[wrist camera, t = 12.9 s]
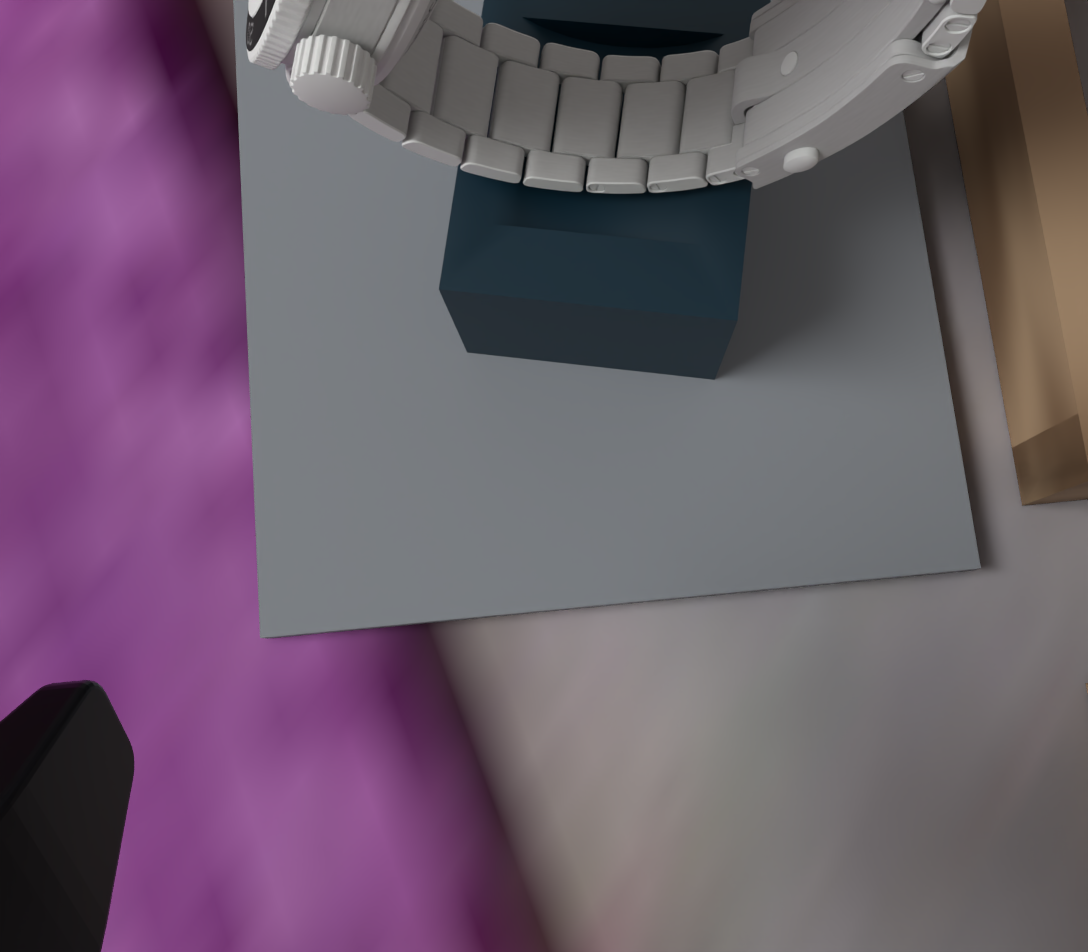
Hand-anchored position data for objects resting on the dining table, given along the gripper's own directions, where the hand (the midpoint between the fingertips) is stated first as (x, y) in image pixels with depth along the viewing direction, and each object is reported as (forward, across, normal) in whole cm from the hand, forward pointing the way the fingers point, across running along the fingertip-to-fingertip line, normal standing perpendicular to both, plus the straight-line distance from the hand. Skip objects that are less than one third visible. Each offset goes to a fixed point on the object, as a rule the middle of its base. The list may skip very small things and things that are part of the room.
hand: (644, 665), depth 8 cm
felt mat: (+12, 0, +1) cm, 12 cm away
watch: (+12, 0, +1) cm, 12 cm away
